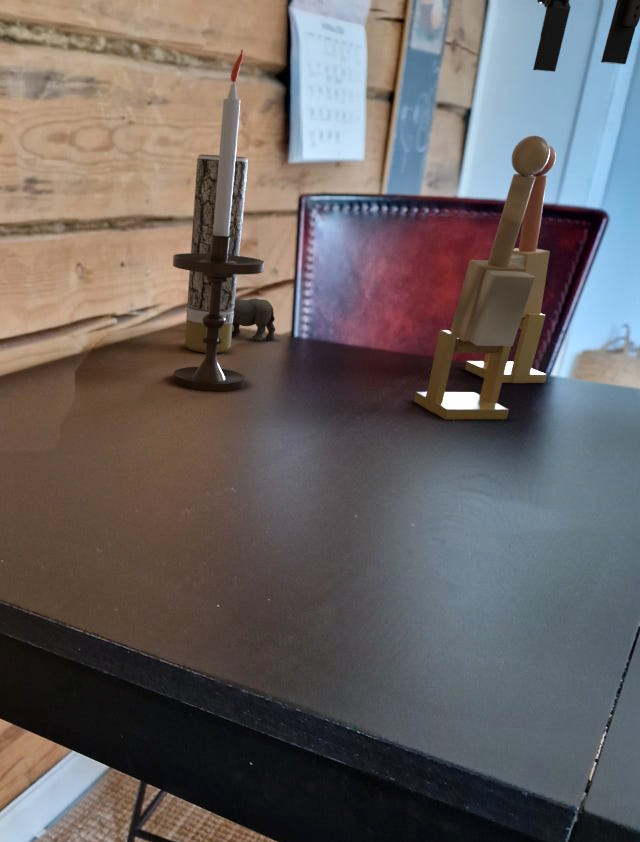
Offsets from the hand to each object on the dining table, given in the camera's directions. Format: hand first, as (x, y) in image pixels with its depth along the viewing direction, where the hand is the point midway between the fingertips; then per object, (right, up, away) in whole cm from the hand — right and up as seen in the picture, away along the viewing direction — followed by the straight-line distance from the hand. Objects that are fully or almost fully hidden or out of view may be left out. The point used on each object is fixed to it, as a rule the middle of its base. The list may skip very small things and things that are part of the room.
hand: (576, 67), depth 104 cm
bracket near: (-14, -42, 0) cm, 44 cm away
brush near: (-12, -29, -13) cm, 34 cm away
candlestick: (-44, -37, +5) cm, 58 cm away
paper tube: (-44, -27, +23) cm, 56 cm away
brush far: (-6, -17, +9) cm, 20 cm away
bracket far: (-1, -32, +18) cm, 37 cm away
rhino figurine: (-39, -21, +34) cm, 56 cm away
